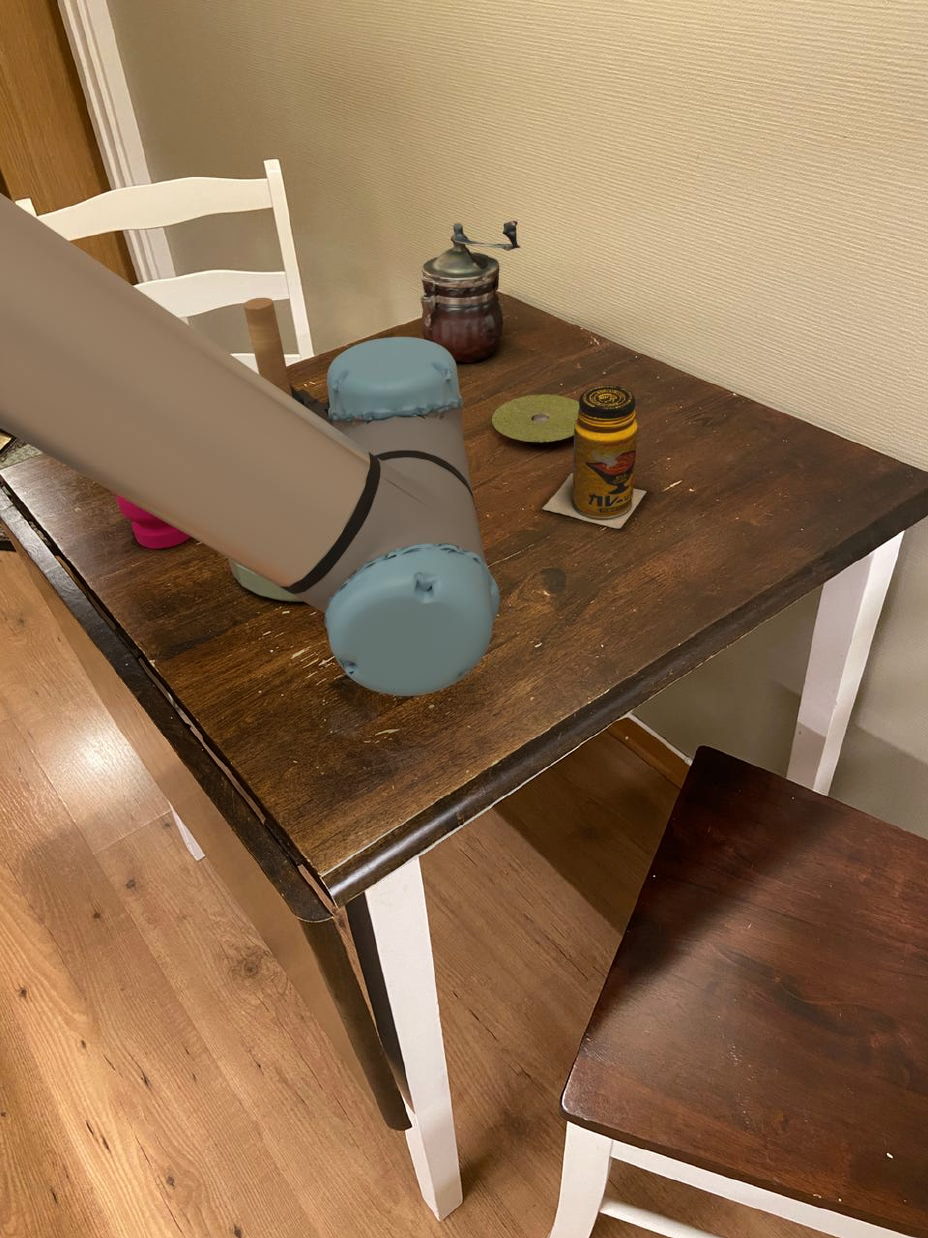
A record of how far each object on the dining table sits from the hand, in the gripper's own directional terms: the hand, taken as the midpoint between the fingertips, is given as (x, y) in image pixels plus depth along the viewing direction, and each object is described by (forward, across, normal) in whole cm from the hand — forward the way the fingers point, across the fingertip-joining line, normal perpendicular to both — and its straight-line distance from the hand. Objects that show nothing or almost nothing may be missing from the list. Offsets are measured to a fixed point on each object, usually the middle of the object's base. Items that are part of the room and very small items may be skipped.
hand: (262, 391), depth 82 cm
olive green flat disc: (+1, +31, -14) cm, 34 cm away
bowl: (-7, 0, -14) cm, 16 cm away
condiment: (-14, +28, -14) cm, 35 cm away
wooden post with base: (-5, 0, -12) cm, 13 cm away
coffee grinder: (+24, +35, -14) cm, 45 cm away
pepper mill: (+5, -12, -15) cm, 19 cm away
